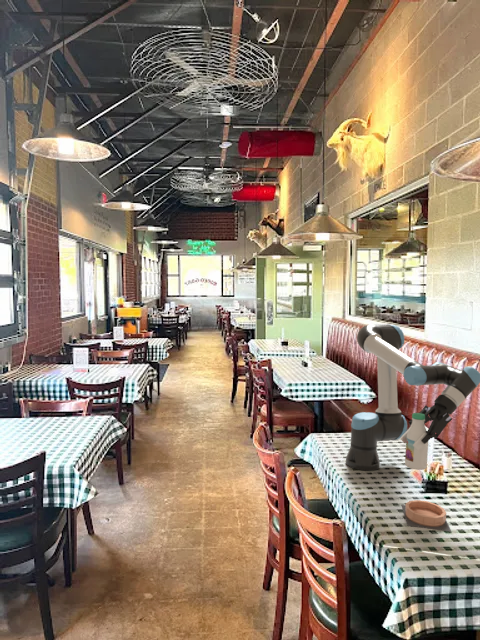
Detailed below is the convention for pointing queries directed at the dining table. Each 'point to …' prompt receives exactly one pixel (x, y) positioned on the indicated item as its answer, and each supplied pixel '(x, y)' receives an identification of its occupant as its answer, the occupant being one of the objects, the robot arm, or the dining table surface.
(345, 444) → the dining table surface
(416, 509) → the bowl
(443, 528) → the mat
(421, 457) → the milk bottle
